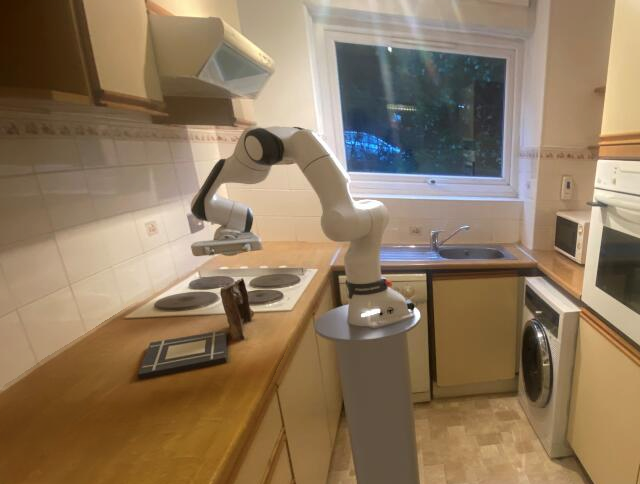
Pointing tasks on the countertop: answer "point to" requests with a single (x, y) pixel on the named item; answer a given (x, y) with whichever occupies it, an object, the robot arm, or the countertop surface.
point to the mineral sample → (236, 307)
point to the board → (184, 354)
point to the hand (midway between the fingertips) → (228, 251)
